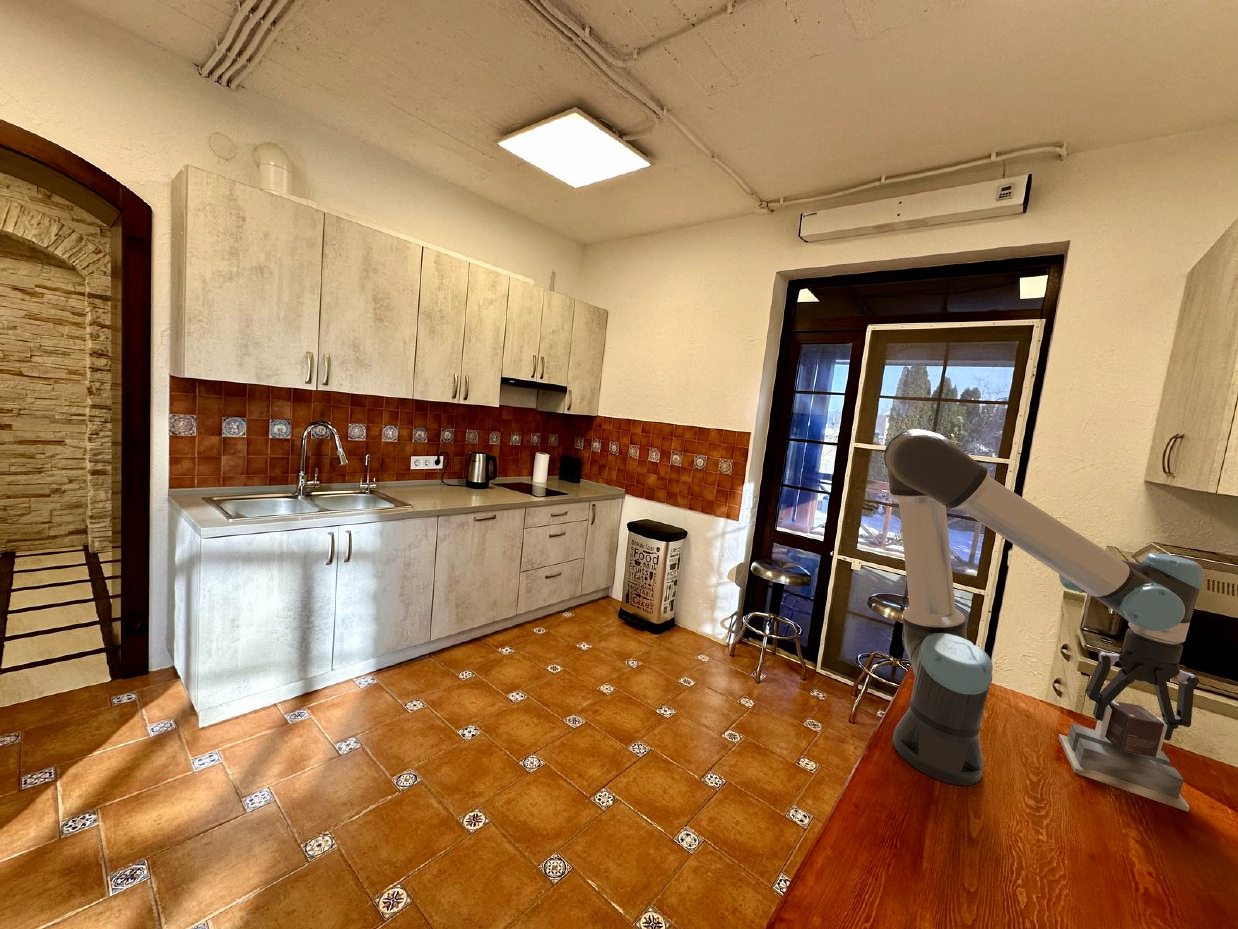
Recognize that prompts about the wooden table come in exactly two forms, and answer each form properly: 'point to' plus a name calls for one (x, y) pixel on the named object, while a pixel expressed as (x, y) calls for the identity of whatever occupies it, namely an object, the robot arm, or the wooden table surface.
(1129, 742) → the box
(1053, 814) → the wooden table surface
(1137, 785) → the stand
